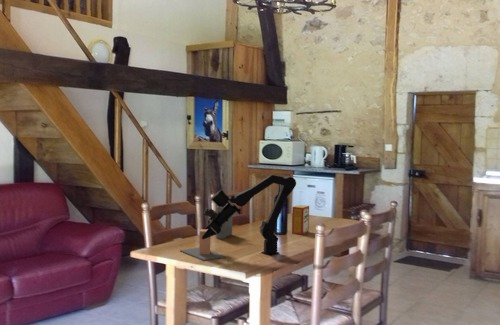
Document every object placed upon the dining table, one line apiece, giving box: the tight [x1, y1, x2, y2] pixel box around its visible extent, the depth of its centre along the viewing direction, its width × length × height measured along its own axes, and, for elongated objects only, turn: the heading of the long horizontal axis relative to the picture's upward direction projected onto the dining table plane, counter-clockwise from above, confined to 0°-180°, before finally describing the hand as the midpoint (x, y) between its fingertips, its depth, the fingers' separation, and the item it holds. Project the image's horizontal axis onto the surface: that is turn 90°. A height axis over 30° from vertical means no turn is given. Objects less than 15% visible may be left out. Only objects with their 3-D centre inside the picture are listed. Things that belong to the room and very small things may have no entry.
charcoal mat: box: [179, 247, 226, 262], centre depth 256 cm, size 22×12×1 cm, turn 36°
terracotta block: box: [198, 229, 211, 254], centre depth 256 cm, size 5×5×11 cm
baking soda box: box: [291, 204, 310, 236], centre depth 312 cm, size 10×6×16 cm
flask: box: [215, 203, 233, 240], centre depth 298 cm, size 15×6×20 cm, turn 160°
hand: (202, 236), depth 255 cm, fingers open, 9 cm apart
